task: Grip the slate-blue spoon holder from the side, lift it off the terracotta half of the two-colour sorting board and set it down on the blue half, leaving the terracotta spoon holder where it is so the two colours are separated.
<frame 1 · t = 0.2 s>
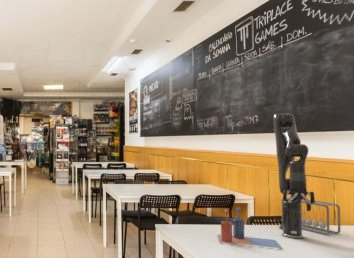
hand: (298, 210, 184), 17 cm above the table, tool pointing down, fingers open, 8 cm apart
sorting board: (248, 242, 183), on the table
terracotta spoon holder: (226, 240, 182), point 1 cm above the table, touching sorting board
newton's cradle: (309, 229, 214), on the table
blue spoon holder: (238, 237, 189), point 1 cm above the table, touching sorting board
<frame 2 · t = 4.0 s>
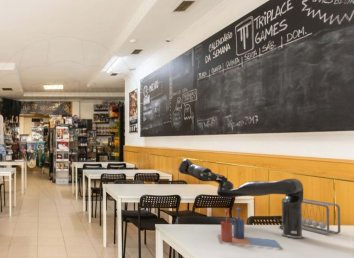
hand: (221, 179, 202), 32 cm above the table, tool horizontal, fingers open, 8 cm apart
nothing on the table moved.
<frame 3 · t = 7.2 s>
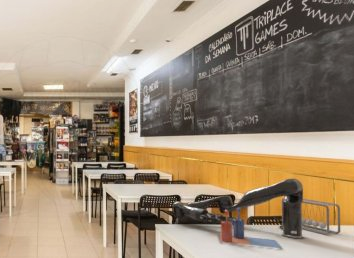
hand: (221, 219, 198), 9 cm above the table, tool horizontal, fingers open, 8 cm apart
nothing on the table moved.
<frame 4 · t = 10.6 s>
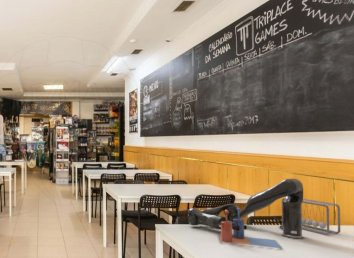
hand: (242, 228, 187), 7 cm above the table, tool horizontal, fingers closed on blue spoon holder, 5 cm apart
blue spoon holder: (238, 237, 189), point 1 cm above the table, touching gripper, sorting board
everything else where it was.
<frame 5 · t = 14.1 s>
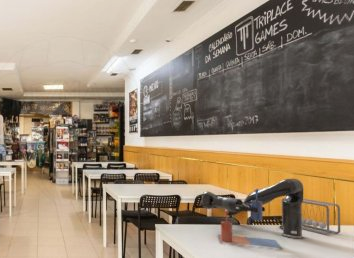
hand: (260, 209, 181), 18 cm above the table, tool horizontal, fingers closed on blue spoon holder, 5 cm apart
blue spoon holder: (256, 219, 183), point 12 cm above the table, touching gripper
everything else where it was.
when the fingers open (7 cm above the table, at t = 18.1 s): blue spoon holder stays where it is, resting on sorting board.
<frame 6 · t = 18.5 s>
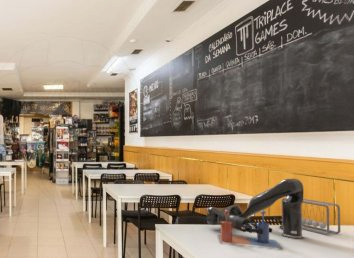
hand: (267, 231, 179), 7 cm above the table, tool horizontal, fingers open, 8 cm apart
blue spoon holder: (263, 241, 181), point 1 cm above the table, touching sorting board
everything else where it was.
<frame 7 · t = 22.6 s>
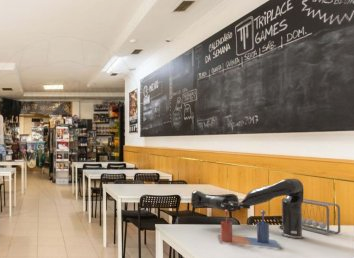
hand: (245, 207, 190), 17 cm above the table, tool horizontal, fingers open, 8 cm apart
nothing on the table moved.
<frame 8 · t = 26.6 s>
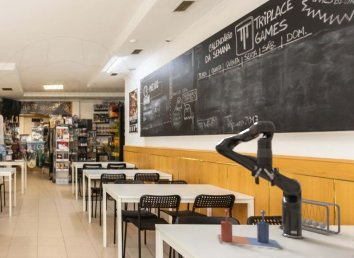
hand: (265, 185, 190), 30 cm above the table, tool pointing down, fingers open, 8 cm apart
nothing on the table moved.
at the end: blue spoon holder inside the target area on the sorting board (0.8 cm from its centre), point 0.8 cm above the sorting board's base; blue spoon holder tilted 0°; terracotta spoon holder moved 0.0 cm from its start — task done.
